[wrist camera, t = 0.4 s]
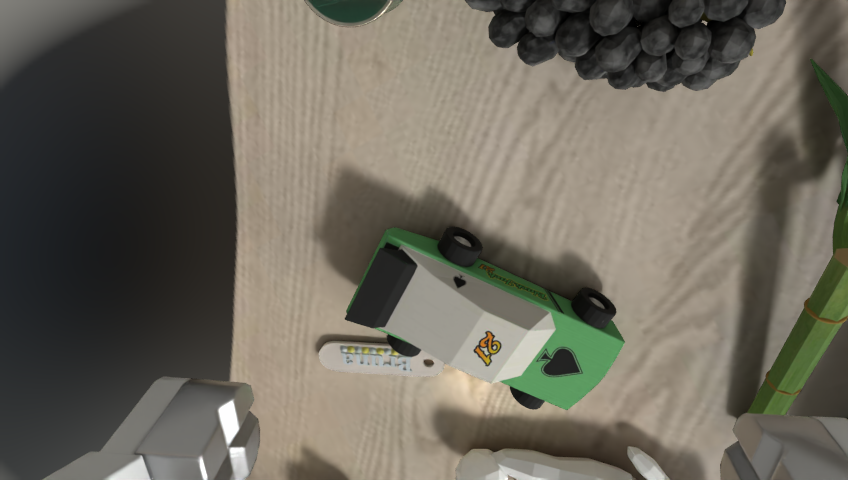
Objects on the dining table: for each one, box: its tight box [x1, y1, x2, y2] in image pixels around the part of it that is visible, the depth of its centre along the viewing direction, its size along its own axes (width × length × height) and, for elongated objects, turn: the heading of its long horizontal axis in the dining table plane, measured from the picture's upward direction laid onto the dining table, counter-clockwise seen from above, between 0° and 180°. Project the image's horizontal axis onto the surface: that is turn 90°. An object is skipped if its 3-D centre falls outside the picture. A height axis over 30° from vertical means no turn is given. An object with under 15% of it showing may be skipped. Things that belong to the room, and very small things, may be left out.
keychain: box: [319, 341, 445, 377], centre depth 43 cm, size 10×1×3 cm
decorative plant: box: [747, 59, 848, 415], centre depth 35 cm, size 6×8×30 cm
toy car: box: [345, 227, 625, 410], centre depth 38 cm, size 10×19×5 cm, turn 65°
